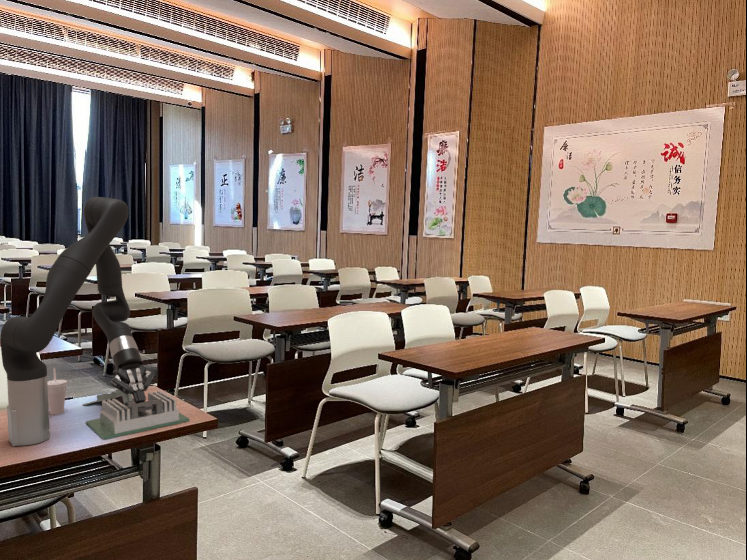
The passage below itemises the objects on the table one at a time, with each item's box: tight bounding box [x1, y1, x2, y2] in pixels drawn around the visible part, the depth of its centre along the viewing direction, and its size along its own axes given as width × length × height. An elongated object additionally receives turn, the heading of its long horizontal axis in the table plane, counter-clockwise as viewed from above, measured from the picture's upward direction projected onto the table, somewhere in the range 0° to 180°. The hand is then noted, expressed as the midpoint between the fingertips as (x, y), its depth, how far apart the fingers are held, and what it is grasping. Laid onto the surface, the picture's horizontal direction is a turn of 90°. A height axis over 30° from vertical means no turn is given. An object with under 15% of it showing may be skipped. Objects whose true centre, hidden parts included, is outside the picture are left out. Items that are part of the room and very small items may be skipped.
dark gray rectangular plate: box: [125, 400, 153, 412], centre depth 171 cm, size 4×1×12 cm
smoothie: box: [47, 367, 68, 416], centre depth 181 cm, size 6×6×14 cm
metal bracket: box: [82, 389, 134, 406], centre depth 193 cm, size 14×6×15 cm
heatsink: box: [85, 390, 190, 441], centre depth 172 cm, size 24×17×8 cm
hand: (141, 403), depth 170 cm, fingers closed
